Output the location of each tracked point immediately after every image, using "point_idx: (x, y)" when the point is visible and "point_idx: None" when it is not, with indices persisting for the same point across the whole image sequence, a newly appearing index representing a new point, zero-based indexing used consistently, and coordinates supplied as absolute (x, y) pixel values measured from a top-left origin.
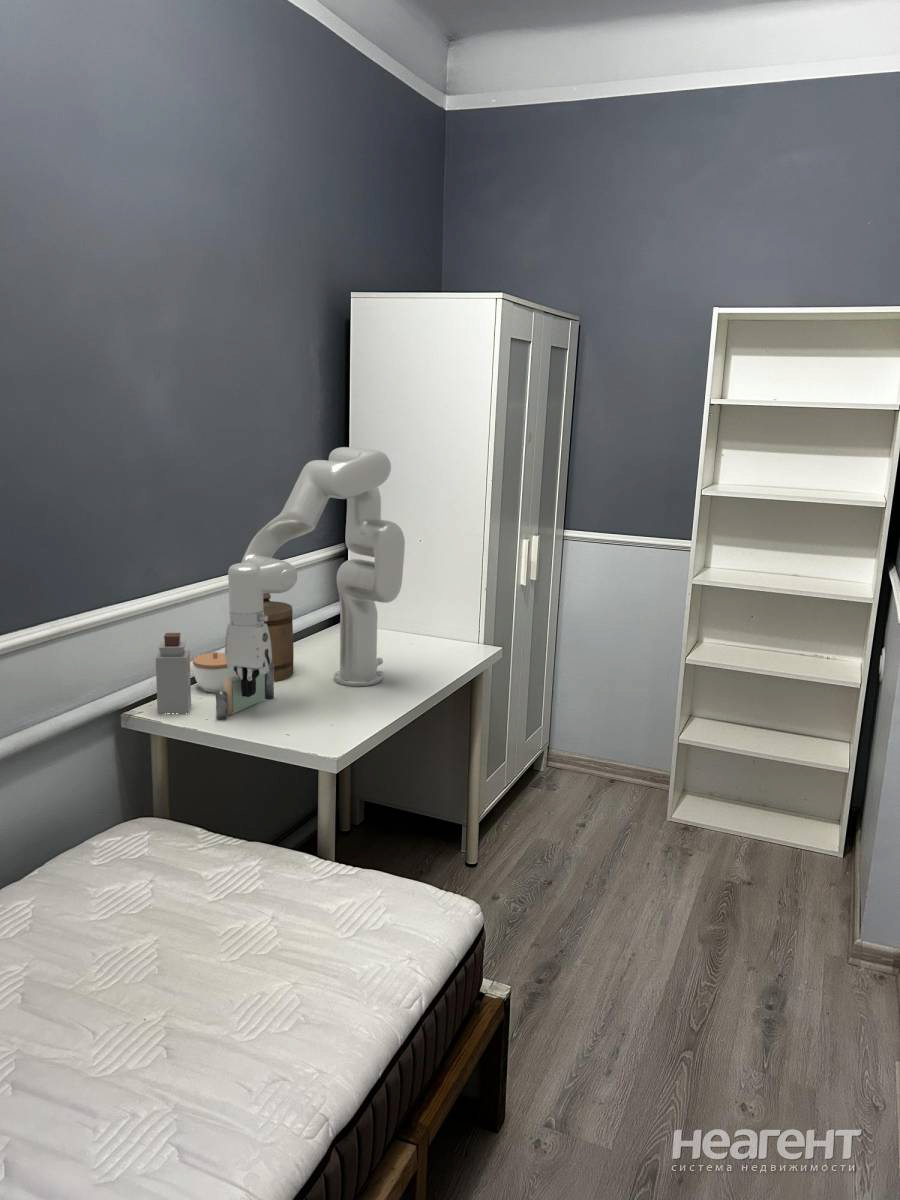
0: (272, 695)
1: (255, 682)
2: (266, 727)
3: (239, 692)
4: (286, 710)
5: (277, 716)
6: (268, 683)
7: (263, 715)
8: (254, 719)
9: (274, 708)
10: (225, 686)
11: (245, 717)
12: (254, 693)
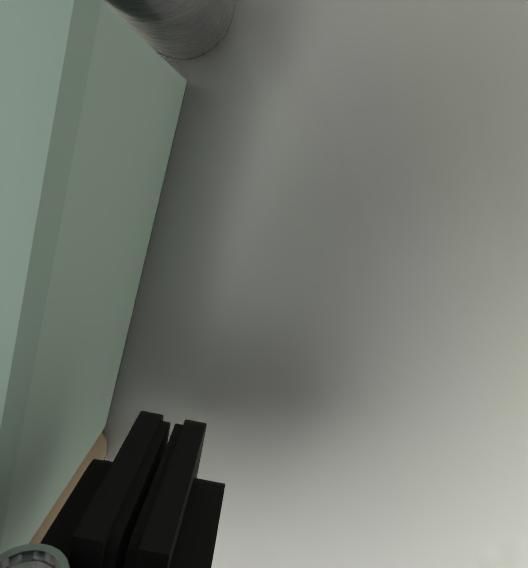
0: (229, 8)
1: (211, 560)
2: (391, 561)
3: (59, 445)
4: (428, 256)
5: (400, 384)
6: (180, 1)
7: (302, 390)
8: (273, 467)
9: (328, 239)
10: None
11: (205, 450)
12: (204, 435)
